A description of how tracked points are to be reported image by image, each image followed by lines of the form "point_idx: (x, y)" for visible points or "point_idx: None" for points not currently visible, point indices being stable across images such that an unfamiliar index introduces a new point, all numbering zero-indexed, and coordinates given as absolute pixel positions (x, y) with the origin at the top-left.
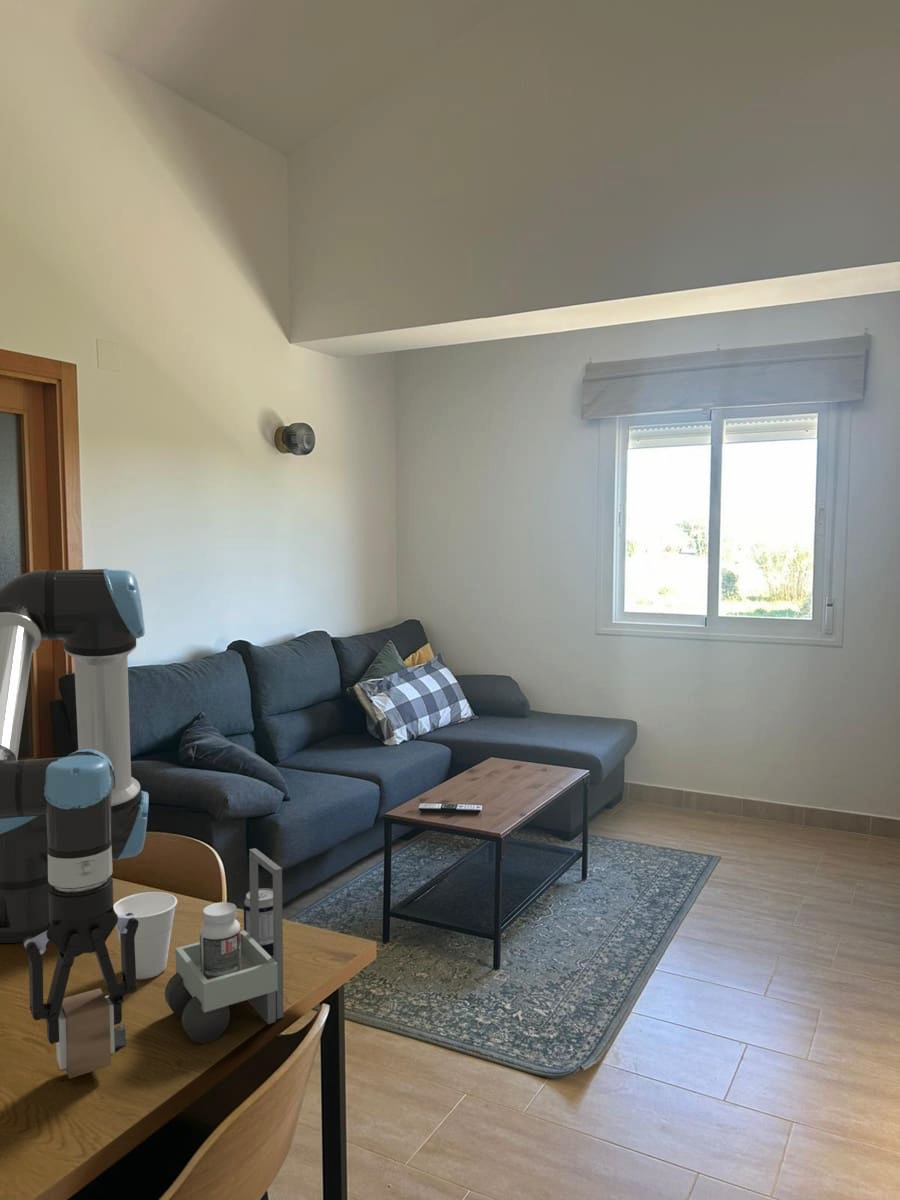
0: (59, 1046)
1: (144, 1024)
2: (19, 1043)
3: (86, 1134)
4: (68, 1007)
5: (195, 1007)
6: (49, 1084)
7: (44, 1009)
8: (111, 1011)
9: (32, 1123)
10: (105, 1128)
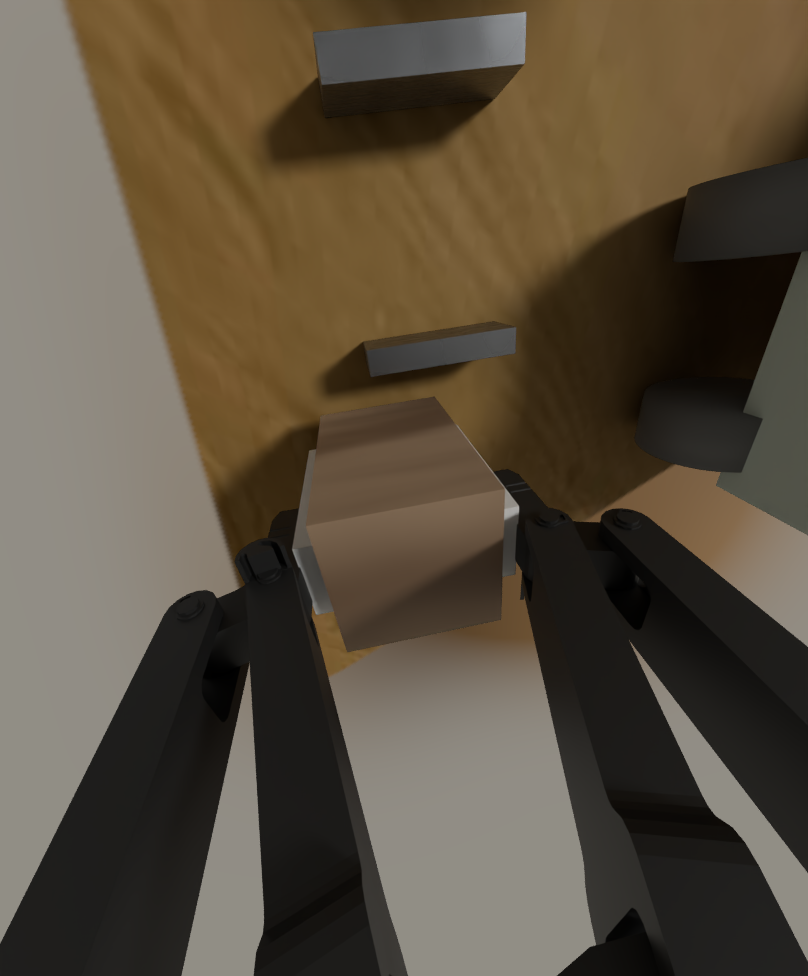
0: None
1: (575, 232)
2: (139, 119)
3: None
4: (350, 598)
5: (716, 469)
6: (295, 449)
7: (247, 659)
8: None
9: None
10: None
